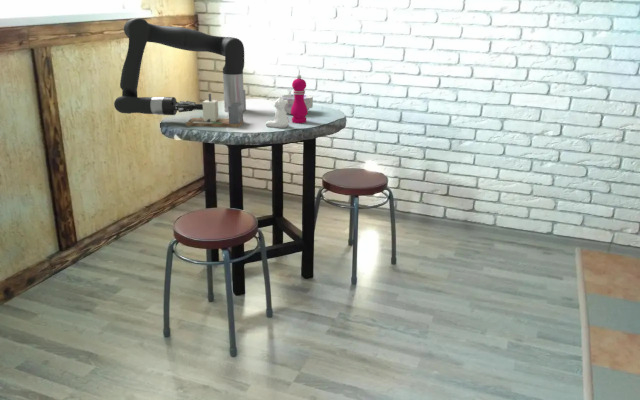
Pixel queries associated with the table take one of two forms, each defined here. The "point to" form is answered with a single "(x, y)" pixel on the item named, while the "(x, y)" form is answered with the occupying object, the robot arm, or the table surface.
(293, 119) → the pepper mill
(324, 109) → the table surface
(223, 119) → the brown wooden board
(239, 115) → the grey rectangular block
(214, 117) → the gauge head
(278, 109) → the white creature statuette
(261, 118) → the table surface
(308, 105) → the paper bowls
